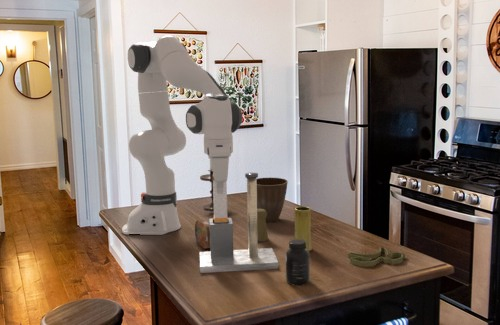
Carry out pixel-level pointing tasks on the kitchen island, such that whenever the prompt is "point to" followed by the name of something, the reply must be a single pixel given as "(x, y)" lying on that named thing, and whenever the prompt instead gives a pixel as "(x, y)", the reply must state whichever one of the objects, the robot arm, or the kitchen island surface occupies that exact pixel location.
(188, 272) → the kitchen island surface
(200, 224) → the tin
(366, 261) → the cookie cutter
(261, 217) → the olive waisted cylinder
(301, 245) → the supplement bottle
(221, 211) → the column
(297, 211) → the vase
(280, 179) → the plant pot
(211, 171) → the candlestick
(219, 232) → the stand
